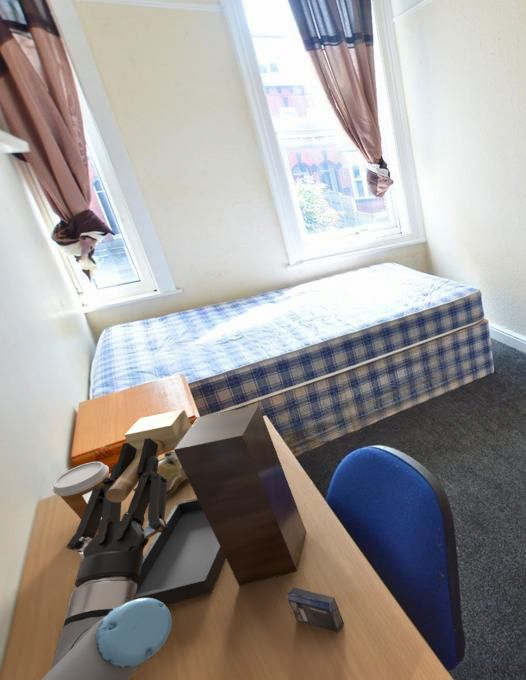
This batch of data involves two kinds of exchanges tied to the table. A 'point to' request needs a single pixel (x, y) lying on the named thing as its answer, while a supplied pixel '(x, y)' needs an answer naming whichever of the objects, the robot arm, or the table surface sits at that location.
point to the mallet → (157, 428)
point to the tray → (181, 557)
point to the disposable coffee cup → (80, 484)
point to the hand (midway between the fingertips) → (140, 444)
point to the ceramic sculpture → (171, 471)
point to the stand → (243, 493)
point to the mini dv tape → (315, 609)
